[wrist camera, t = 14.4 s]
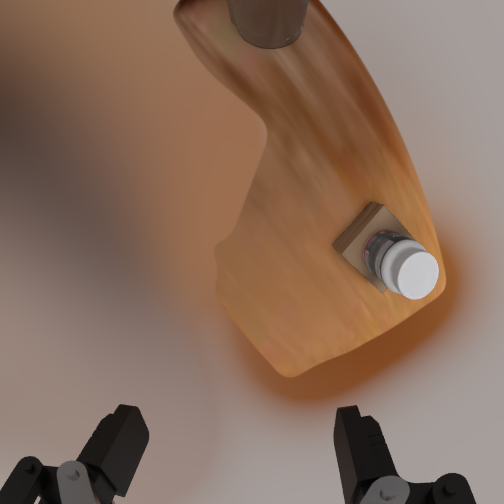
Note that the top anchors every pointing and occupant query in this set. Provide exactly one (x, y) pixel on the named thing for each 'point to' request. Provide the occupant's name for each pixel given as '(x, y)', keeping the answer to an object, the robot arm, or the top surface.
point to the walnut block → (359, 233)
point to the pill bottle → (401, 264)
